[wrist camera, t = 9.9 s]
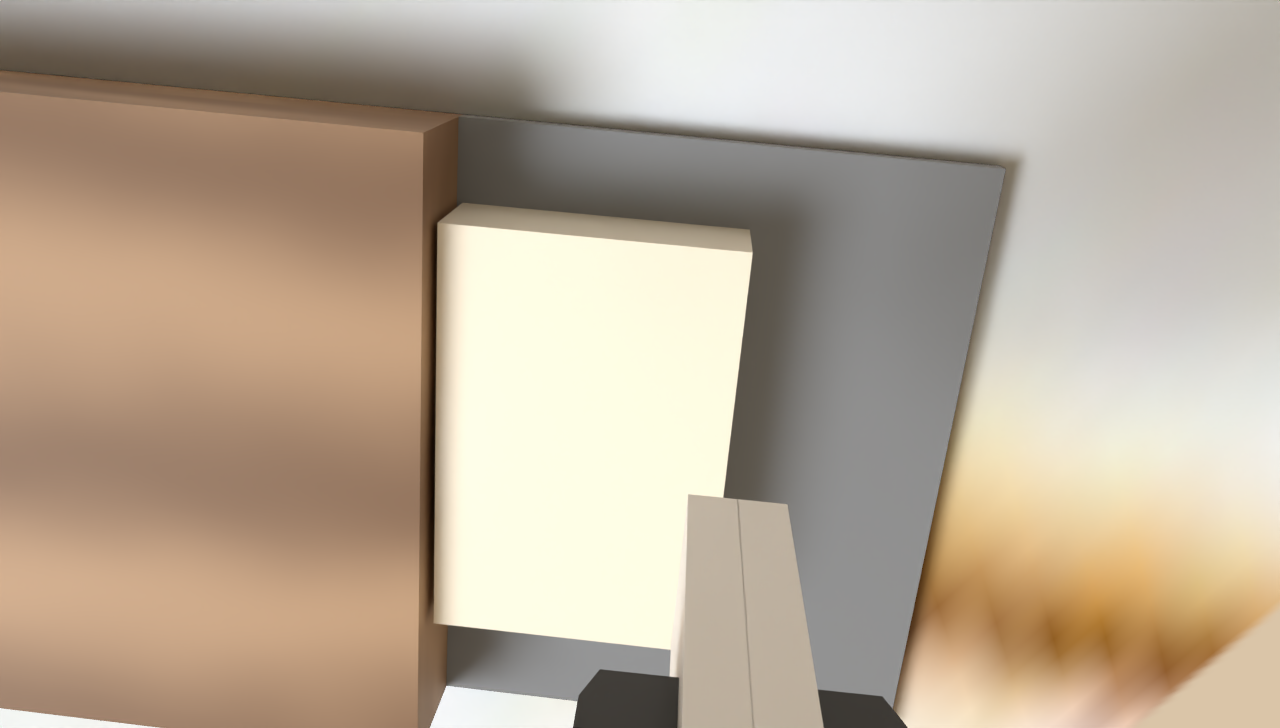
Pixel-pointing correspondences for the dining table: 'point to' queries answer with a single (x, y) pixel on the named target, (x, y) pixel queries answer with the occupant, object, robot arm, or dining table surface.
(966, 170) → the mat
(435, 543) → the tile
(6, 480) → the board
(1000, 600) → the dining table surface
